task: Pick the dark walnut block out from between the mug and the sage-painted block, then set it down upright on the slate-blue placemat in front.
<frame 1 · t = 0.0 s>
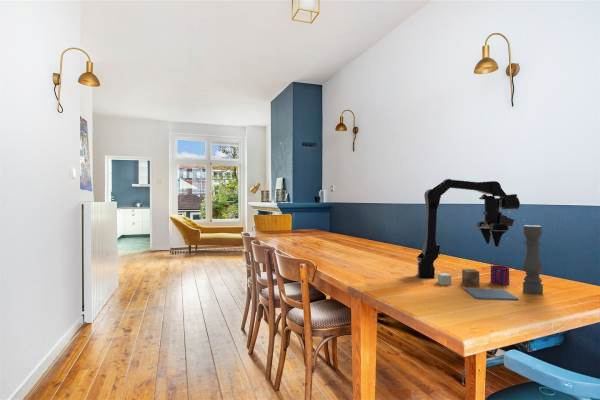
hand: (492, 245, 150), 15 cm above the table, fingers open, 9 cm apart
candle holder: (532, 292, 128), on the table
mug: (498, 284, 141), on the table
sage block: (444, 283, 142), on the table
placemat: (489, 294, 125), on the table
walnut block: (470, 285, 139), on the table
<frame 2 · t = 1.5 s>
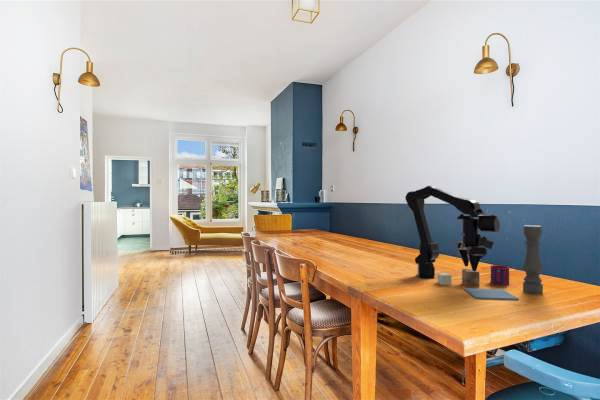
hand: (470, 268, 139), 7 cm above the table, fingers open, 9 cm apart
nothing on the table moved.
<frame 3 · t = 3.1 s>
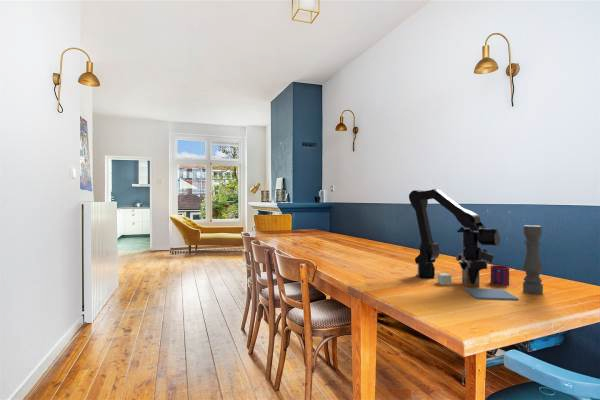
hand: (470, 281, 139), 1 cm above the table, fingers closed on walnut block, 5 cm apart
walnut block: (470, 284, 139), on the table, touching gripper
everything else where it was.
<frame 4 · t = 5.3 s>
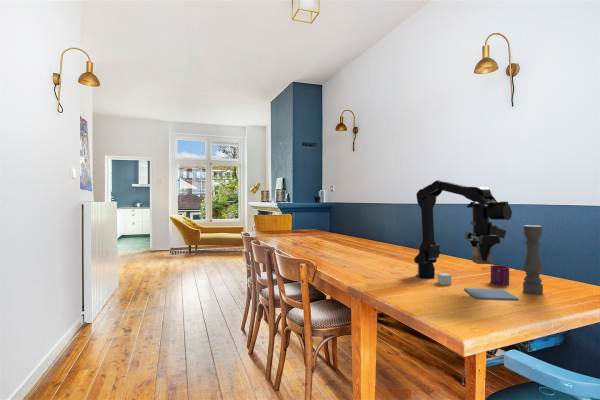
hand: (481, 259, 131), 12 cm above the table, fingers closed on walnut block, 5 cm apart
walnut block: (482, 262, 131), point 11 cm above the table, touching gripper
everything else where it was.
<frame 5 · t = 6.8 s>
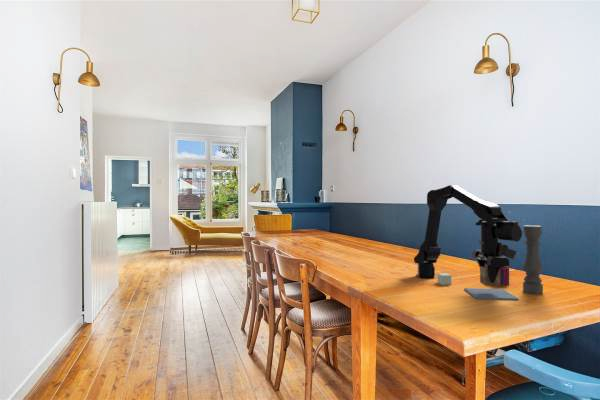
hand: (489, 280, 125), 5 cm above the table, fingers closed on walnut block, 5 cm apart
walnut block: (489, 283, 125), point 4 cm above the table, touching gripper
everything else where it was.
when the fingers open (3 cm above the table, at t = 8.0 s): walnut block drops 1 cm, resting on placemat.
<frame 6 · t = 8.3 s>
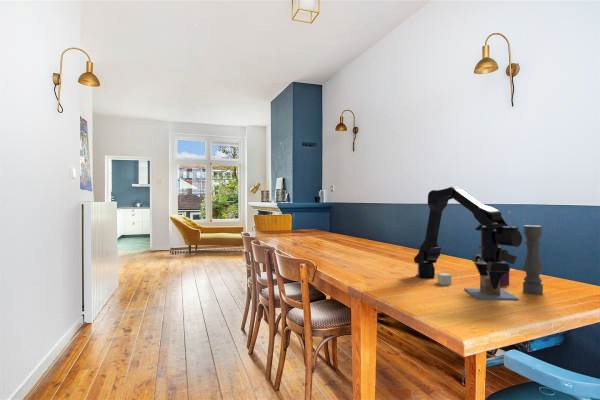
hand: (489, 285, 125), 3 cm above the table, fingers open, 8 cm apart
walnut block: (490, 293, 125), point 1 cm above the table, touching placemat
everything else where it was.
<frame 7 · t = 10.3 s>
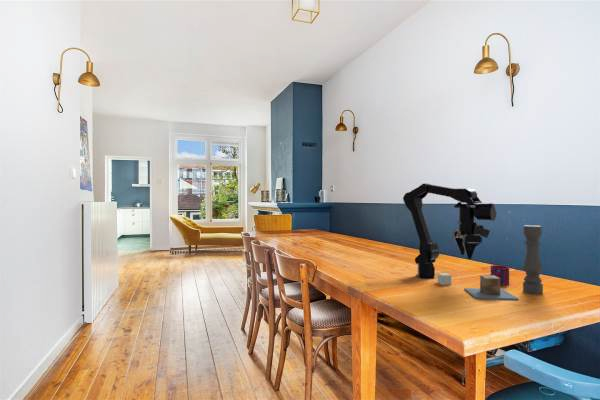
hand: (465, 256, 140), 11 cm above the table, fingers open, 9 cm apart
nothing on the table moved.
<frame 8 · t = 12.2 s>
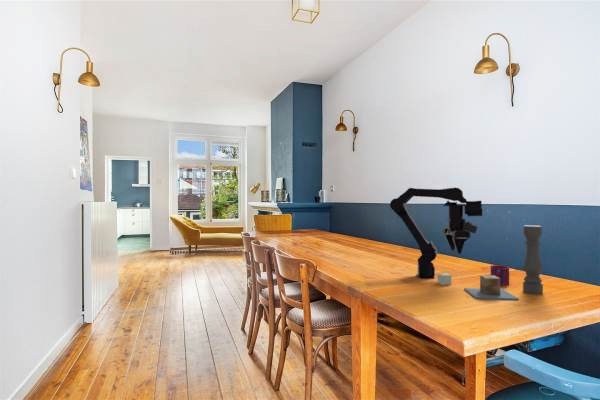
hand: (456, 252, 149), 12 cm above the table, fingers open, 9 cm apart
nothing on the table moved.
at the end: walnut block inside the target area on the placemat (0.1 cm from its centre), point 0.6 cm above the placemat's base; walnut block tilted 0°; the gripper is holding nothing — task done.
